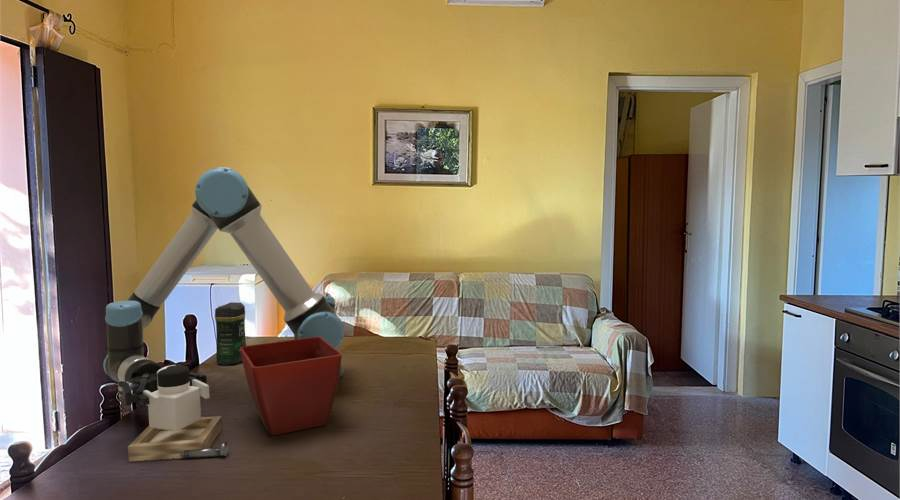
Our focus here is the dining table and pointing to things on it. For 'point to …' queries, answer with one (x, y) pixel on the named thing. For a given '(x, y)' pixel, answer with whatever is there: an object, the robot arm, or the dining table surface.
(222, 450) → the pin
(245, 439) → the dining table surface
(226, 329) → the coffee jar
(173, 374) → the medicine bottle
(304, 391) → the plant pot
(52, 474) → the dining table surface
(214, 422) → the wooden tray
